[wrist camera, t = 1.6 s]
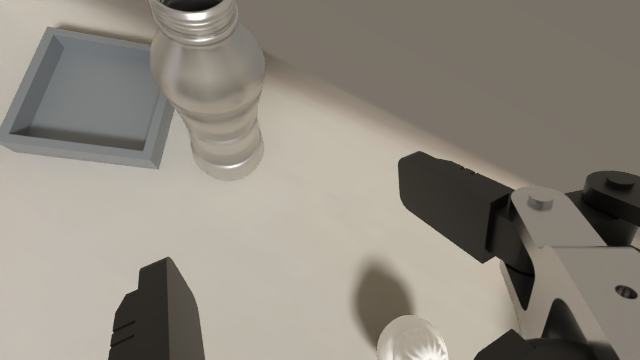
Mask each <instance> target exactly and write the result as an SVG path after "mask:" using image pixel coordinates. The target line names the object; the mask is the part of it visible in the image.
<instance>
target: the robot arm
mask: <svg viewBox="0 0 640 360" xmlns="http://www.w3.org/2000/svg"><path fill="white" fill-rule="evenodd" d="M398 173H399V190H400V198H401V201H402V203H403V205H404V206H405V207H406V208H407V209H408V210H409V211H410V212H412V213H413V214H414V215H416V216H417V217H419V218H420V219H421V220H423V221H424V222H425V223H427V224H428V225H430V226H431V227H432V228H434V229H435V230H436V231H438V232H439V233H441V234H442V235H443V236H445V237H446V238H447V239H449V240H450V241H452V242H453V243H454V244H456V245H457V246H459V247H460V248H461V249H463V250H464V251H465V252H467V253H468V254H470V255H471V256H472V257H474V258H475V259H476V260H478V261H479V262H481V263H482V264H483V263H485V262H487V261H488V260H490V259H491V258H493V257H495V256H496V257H498V258H499V259H500V270H501V273H502V275H503V278H504V281H505V283H506V286H507V289H508V292H509V294H510V297H511V300H512V302H513V305H514V308H515V310H516V313H517V316H518V319H519V323H520V331H521V336H520V335H519V334H517V333H516V332H515V331H514V330H513V329H511V330H509V331H508V332H506V333H505V334H504V335H502V336H501V337H499V338H498V339H497V340H495V341H494V342H492V343H491V344H490V345H488V346H487V347H485V348H484V349H483V350H481V351H480V352H478V354H477V355H476V357H475V358H474V360H640V249H638V248H636V247H634V246H632V245H630V244H631V242H632V240H633V238H634V236H635V234H636V231H637V229H638V227H640V177H639V176H636V175H633V174H629V173H625V172H619V171H599V172H594V173H592V174H590V175H588V177H587V179H586V182H585V185H584V188H583V190H580V191H575V192H570V193H565V194H563V193H561V192H558V191H556V190H553V189H550V188H546V187H539V186H528V187H522V188H519V189H517V190H514V189H512V188H510V187H507V186H505V185H503V184H501V183H498V182H496V181H494V180H492V179H490V178H487V177H485V176H483V175H481V174H478V173H476V174H475V172H474V171H472V170H470V169H467V168H466V169H465V168H464V167H463V166H461V165H459V164H456V163H454V162H452V161H447V160H442V159H437V158H434V157H432V156H430V155H428V154H426V153H424V152H421V151H418V152H415V153H413V154H411V155H408V156H406V157H403V158H401V159H400V160H399V162H398ZM113 333H114V334H112V338H111V345H110V346H111V349H110V351H109V358H108V360H205V355H204V348H203V341H202V334H201V327H200V319H199V312H198V307H197V304H196V301H195V298H194V296H193V294H192V292H191V290H190V288H189V287H188V285H187V283H186V282H185V280H184V278H183V277H182V275H181V273H180V272H179V270H178V269H177V267H176V265H175V264H174V262H173V260H172V259H171V258H170V257H166V258H164V259H162V260H159V261H157V262H154V263H152V264H150V265H147V266H145V267H143V268H141V269H140V271H139V283H138V290H135V291H133V292H131V293H128V294H126V296H125V297H124V299H123V301H122V302H121V304H120V306H119V308H118V309H117V311H116V313H115V319H114V325H113Z"/></svg>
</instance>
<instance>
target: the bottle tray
mask: <svg viewBox="0 0 640 360" xmlns="http://www.w3.org/2000/svg"><path fill="white" fill-rule="evenodd" d="M150 47H151V45H149V44H143V43H137V42H132V41H126V40H120V39H115V38H109V37H103V36H98V35H92V34H86V33H81V32H75V31H69V30H64V29H58V28H52V27H47V28H46V31H45V33H44V35H43V37H42V39H41V41H40V43H39V46H38V48H37V50H36V52H35V54H34V56H33V59H32V61H31V63H30V65H29V67H28V69H27V71H26V74H25V76H24V78H23V80H22V82H21V84H20V86H19V89H18V91H17V93H16V95H15V97H14V99H13V102H12V104H11V106H10V108H9V110H8V112H7V114H6V117H5V119H4V121H3V123H2V125H1V127H0V144H1V145H3V146H5V147H7V148H9V149H11V150H12V151H14V152H19V153H28V154H36V155H44V156H53V157H61V158H69V159H77V160H86V161H94V162H102V163H110V164H119V165H127V166H135V167H143V168H152V169H159V166H160V162H161V158H162V154H163V150H164V146H165V143H166V139H167V135H168V131H169V127H170V123H171V120H172V116H173V112H174V107H173V106H172V105H171V103H170V102H169V101H168V100H167V99H166V98H165V96H164V95H163V94H162V93H161V91H160V89H159V88H158V86H157V85H156V83H155V81H154V79H153V77H152V74H151V69H150Z"/></svg>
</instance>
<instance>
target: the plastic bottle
mask: <svg viewBox="0 0 640 360" xmlns="http://www.w3.org/2000/svg"><path fill="white" fill-rule="evenodd" d="M149 3H150V5H151V11H152V15H153V18H154V20H155V23H156V25H157V26H158V30H157V32H156V34H155V36H154V38H153V41H152V44H151V47H150V69H151V74H152V77H153V79H154V81H155V83H156V85H157V86H158V88H159V89H160V91H161V93H162V94H163V95H164V96H165V98H166V99H167V100H168V101H169V102H170V103H171V105H172V106H173V107H174V108H175V109H176V111H177V112H178V113H179V114H180V116H181V117H182V119H183V121H184V123H185V124H186V126H187V128H188V129H189V133H190V137H191V148H192V154H193V158H194V160H195V162H196V164H197V165H198V166H199V167H200V168H201V169H202V170H203V171H204V172H206V173H207V174H208V175H210V176H212V177H214V178H216V179H219V180H225V181H232V180H238V179H241V178H244V177H246V176H248V175H249V174H250V173H252V172H253V171H254V170H255V169H256V167H257V166H258V164H259V163H260V161H261V158H262V156H263V152H264V142H263V139H262V135H261V132H260V130H259V128H258V122H257V110H258V102H259V98H260V95H261V91H262V87H263V83H264V77H265V70H266V65H265V58H264V55H263V52H262V50H261V47H260V45H259V42H258V41H257V39H256V37H255V36H254V35H253V33H252V32H251V31H250V30H249V29H248V28H247V27H246V26H245V25H244V24H243V23H242V22H241V21H240V20H239V13H238V6H237V3H236V1H235V0H149Z"/></svg>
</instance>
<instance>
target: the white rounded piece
mask: <svg viewBox="0 0 640 360" xmlns="http://www.w3.org/2000/svg"><path fill="white" fill-rule="evenodd" d="M376 350H377V358H378V360H448V353H447V348H446V345H445V342H444V340H443V338H442V336H441V335H440V333H439V332H438V330H437V329H436V328H435V327H434V326H433V325H432V324H431V323H430V322H428V321H427V320H425V319H423V318H421V317H418V316H413V315H404V316H400V317H398V318H396V319H394V320H393V321H391V322H390V323H389V324H387V325H386V327H385V329H383V332H382V334H380V338H379V340H378V345H377V349H376Z"/></svg>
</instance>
